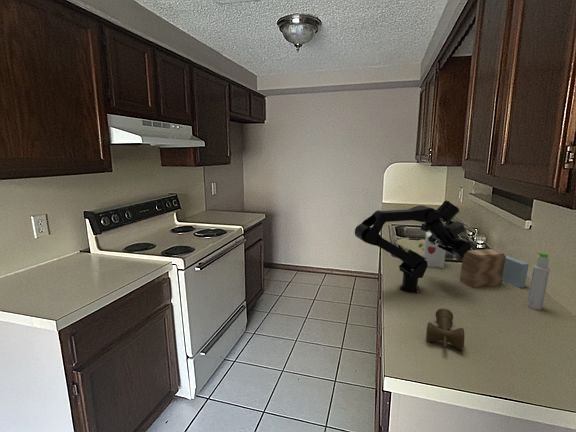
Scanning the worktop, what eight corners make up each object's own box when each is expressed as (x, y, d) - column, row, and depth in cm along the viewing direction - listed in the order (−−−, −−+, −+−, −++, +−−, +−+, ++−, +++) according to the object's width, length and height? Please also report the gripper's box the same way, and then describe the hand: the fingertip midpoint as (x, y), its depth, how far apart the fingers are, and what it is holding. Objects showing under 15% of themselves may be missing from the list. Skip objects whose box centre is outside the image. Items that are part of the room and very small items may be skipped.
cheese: (435, 261, 165) (422, 238, 174) (437, 255, 159) (423, 231, 169) (406, 269, 166) (394, 246, 175) (407, 263, 160) (395, 239, 169)
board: (518, 287, 130) (522, 264, 128) (490, 274, 143) (493, 253, 141) (524, 287, 130) (528, 264, 128) (496, 274, 144) (499, 253, 142)
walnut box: (472, 287, 129) (476, 255, 126) (459, 280, 136) (463, 250, 133) (501, 285, 132) (506, 254, 129) (487, 278, 139) (492, 248, 136)
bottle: (526, 302, 117) (536, 250, 113) (541, 306, 114) (552, 253, 110) (526, 307, 113) (536, 253, 109) (542, 311, 111) (553, 256, 107)
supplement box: (423, 266, 153) (426, 235, 150) (422, 260, 161) (425, 231, 158) (444, 268, 150) (447, 238, 147) (442, 262, 158) (445, 233, 155)
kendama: (460, 327, 101) (464, 362, 83) (427, 320, 105) (424, 352, 87) (462, 309, 100) (466, 341, 82) (428, 303, 104) (426, 332, 86)
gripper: (471, 220, 116) (492, 248, 120) (437, 211, 134) (457, 235, 138) (449, 242, 116) (471, 269, 120) (418, 230, 134) (439, 253, 138)
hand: (459, 255), depth 129 cm, fingers open, 3 cm apart
